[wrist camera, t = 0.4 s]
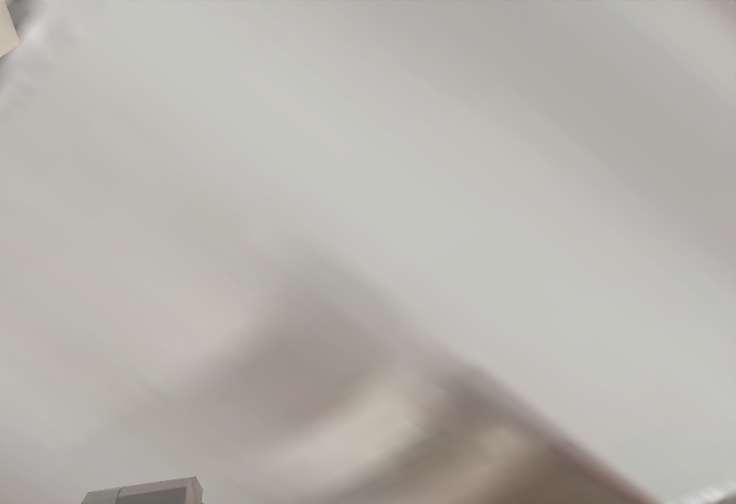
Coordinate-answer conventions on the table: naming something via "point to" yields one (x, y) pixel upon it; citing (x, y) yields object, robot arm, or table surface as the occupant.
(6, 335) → the table surface
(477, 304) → the table surface
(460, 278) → the table surface
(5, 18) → the block
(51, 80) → the table surface
